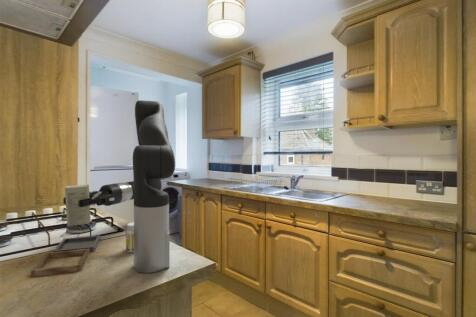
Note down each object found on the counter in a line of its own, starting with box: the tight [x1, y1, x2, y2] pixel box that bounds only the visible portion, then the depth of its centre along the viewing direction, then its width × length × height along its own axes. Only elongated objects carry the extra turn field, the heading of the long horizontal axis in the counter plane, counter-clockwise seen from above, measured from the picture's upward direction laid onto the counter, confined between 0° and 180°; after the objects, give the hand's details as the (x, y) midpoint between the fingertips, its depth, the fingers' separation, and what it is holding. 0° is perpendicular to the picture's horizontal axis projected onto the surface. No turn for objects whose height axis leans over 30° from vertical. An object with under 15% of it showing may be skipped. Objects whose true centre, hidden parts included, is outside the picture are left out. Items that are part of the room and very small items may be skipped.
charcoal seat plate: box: [52, 235, 101, 253], centre depth 85 cm, size 11×11×1 cm
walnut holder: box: [30, 248, 91, 278], centre depth 73 cm, size 11×12×2 cm
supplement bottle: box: [125, 221, 134, 253], centre depth 83 cm, size 5×5×8 cm
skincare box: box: [64, 183, 92, 227], centre depth 84 cm, size 6×4×12 cm
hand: (71, 202), depth 82 cm, fingers closed on skincare box, 7 cm apart
